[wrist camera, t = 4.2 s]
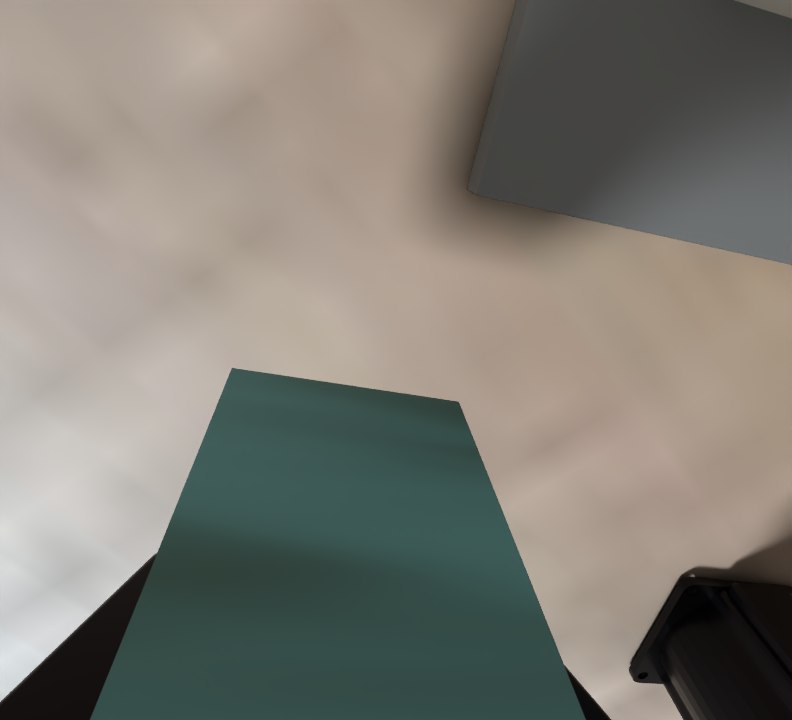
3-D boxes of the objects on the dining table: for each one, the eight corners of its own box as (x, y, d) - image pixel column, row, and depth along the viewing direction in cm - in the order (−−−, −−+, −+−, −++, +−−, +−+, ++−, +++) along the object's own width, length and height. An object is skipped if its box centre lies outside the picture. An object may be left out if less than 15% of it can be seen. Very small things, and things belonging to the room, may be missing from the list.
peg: (408, 564, 11) (528, 1360, 4) (213, 546, 11) (-49, 1466, 3) (459, 401, 10) (791, 1233, 3) (231, 368, 9) (-178, 1386, 2)
